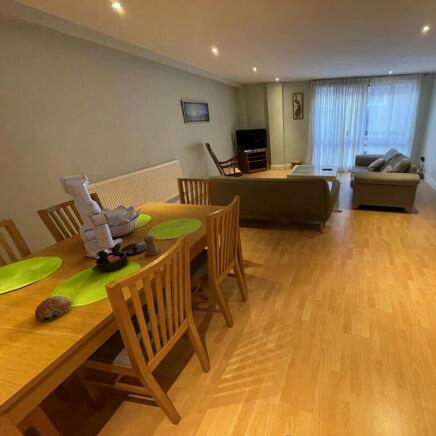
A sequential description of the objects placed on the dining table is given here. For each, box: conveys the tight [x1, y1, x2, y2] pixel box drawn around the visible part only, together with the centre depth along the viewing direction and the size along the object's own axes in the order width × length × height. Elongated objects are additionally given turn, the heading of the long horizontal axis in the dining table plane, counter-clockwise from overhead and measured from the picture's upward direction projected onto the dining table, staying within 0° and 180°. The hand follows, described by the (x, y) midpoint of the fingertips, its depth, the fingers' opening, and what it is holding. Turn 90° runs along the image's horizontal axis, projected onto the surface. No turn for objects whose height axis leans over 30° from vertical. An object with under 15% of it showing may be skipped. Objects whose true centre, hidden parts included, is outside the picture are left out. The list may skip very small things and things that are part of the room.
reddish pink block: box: [103, 255, 120, 264], centre depth 122 cm, size 6×4×3 cm
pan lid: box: [120, 240, 146, 256], centre depth 137 cm, size 14×14×5 cm
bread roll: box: [34, 295, 72, 322], centre depth 92 cm, size 10×10×8 cm
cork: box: [143, 234, 160, 257], centre depth 132 cm, size 6×6×11 cm
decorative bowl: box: [91, 204, 142, 238], centre depth 154 cm, size 30×30×15 cm
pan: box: [91, 251, 129, 273], centre depth 122 cm, size 12×18×4 cm
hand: (111, 260), depth 122 cm, fingers closed on reddish pink block, 4 cm apart
